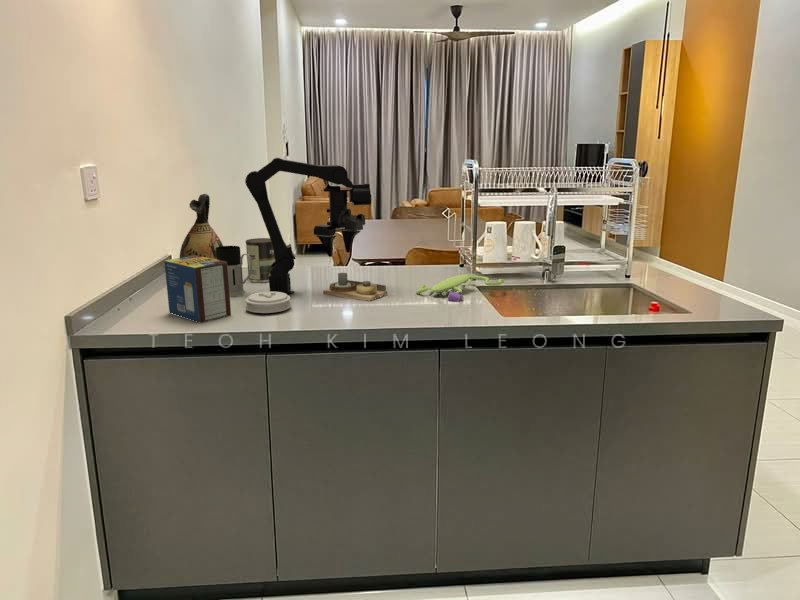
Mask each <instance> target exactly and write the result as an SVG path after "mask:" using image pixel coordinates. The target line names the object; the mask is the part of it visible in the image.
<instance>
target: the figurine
mask: <svg viewBox="0 0 800 600" xmlns="http://www.w3.org/2000/svg"><path fill="white" fill-rule="evenodd" d="M474 280H478V281H480V280H481V281H484V284H485V285H486V286H490V287H491V286H500V285H502V284H503V283H505V280H504V279H503V278H499V279H498V280H497V281H493V282H491V281H490V278H489V277H487V276H481V275H476V274H474V273H470V274H459V275H455V276H451V277H448V278H445V279H443V280H442V281H440V282H438V283H436V284H435V285H433V286H432V287H428V286H426V285H425V284H423V285H421V287H419V288H418V289H416V294H417V295H420V294H421V293H424V292H426V291H428V290H430V292H432V293H435V294H436V295H437V294H439V295H440V294H441V295H442V296H443V297H445V296H447V300H448V301H450V302H458V301H459V302H460V301H462V300H463V299H462V298H463V297H464V294H463V290H462V289H461V288H459V286H461V285H463V284H466V283H467V282H468V281H469V282H468V285H470V284H471V283H472V282H473V281H474ZM448 292H449V293H448Z"/></svg>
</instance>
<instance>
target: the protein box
mask: <svg viewBox="0 0 800 600" xmlns="http://www.w3.org/2000/svg"><path fill="white" fill-rule="evenodd" d="M163 262H164V272H165V281H166V292H167V300H168V301H167V304H168V313H169V312H170V313H173V314H176V315H179V316H182V317H185V318H188V319H191V320H194V321H197V322H202V323H205V322H209V321H213V320H216V319H220V318H225V317H229V316H231V315H232V310H231V297H230V295H229V282H228V269H227V261H222V260H216V259H211V258H206V257H201V256H190V257H184V258H180V257H178V258H171V259H165V260H164V261H163ZM170 313H169V314H170ZM173 314H172V315H173ZM176 315H175V316H176ZM228 315H229V316H228ZM179 316H178V317H179ZM224 316H225V317H224ZM182 317H181V318H182ZM185 318H184V319H185ZM188 319H187V320H188ZM191 320H190V321H191ZM208 320H209V321H208ZM194 321H193V322H194ZM204 321H205V322H204ZM197 322H196V323H197Z"/></svg>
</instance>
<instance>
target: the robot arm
mask: <svg viewBox="0 0 800 600" xmlns="http://www.w3.org/2000/svg"><path fill="white" fill-rule="evenodd" d="M279 172H284V173H288V174H289V173H291V174H295V175H300V176H301V175H302V176H307V177H313V178H314V177H315V178H318V179H321V180H324V181H327V182H329V183H332V184H335V185H330V184H329V183H327V184H326V186H324V187H323V188H322V191H323V192H324V193H326V192H328V198H329V199H328V204H329V206H328V207H329V208H326V213H329V221H327V222H326V224H318V225H315V226H314V227H313V229H312V230H313V235H314V236H315V237H316V238H318V239H319V241H320V242H321V244H322V246H323V248H324V250H325V252H326V254H327V256H328V257H330V258H331V257H333V251H334V250H333V249H334V248H333V247H334V240H335V238H337V235H335V234H336V233H337V232H339V231H341V235H342V239H343V245H344V248H345V251H346V253H351V249H352V246H353V243H354V240H355V237H356V236H357V235H358V234H359V233H361V231H362V230H364V225H366V215H365V214H364V213H358V214H357V215H355V214H352V210H351V208H348V202H349V203H352V206H371V205H372V194H371V187H370V186H371V184H369V183H357V184H355V183H354V184H353V182H352V181H351V180H350V178H349V176H348V175H349V174H348V170H347V169H346V168H345V167H344V166H341V165H339V164H321V165H320V164H312V163H307V162H300V161H295V160H288V159H283V158H281V157H275V158H273V159H272V160H271V161H270V162H269V163H268V164H266V165H264V166H263V167H262V168H260V169H259V170H253V171H251V172H249V173H248V174H247V175H246V176H245V181H244V182H245V185H246V187H247V189H248V191H249V193H250V194H251V196H252V198H253V199H254V201H255V202H256V204H257V207H258V209H259V212H260V214H261V217H262V220H263V222H264V226H265V229H266V231H267V233H268V237H269V238H270V239H271V242H272V244H273V250H274V256H275V262H274V263H273V264H272V265H271V266H270V274H271V275H270V276H269V282H268V283H269V285H268V286H269V292H283V293H286V294H287V295H288V296H289V295H291V294H294V293H295V290H292V289H291V288H292V286H291V276H290V274H291V273H289V272H290V271H292V270H293V268H294V267H295V260H296V254H295V253H294V251H293V249H292V244H291V243H289V244H288V245H287V243H286V242H285V240H284V238H283V235H282V233H281V230H280V227H279V224H278V222H277V221H278V220H277V219H276V216H275V214H274V213H275V212H274V211H273V208H272V205H271V203H270V200H269V195H268V189H267V181H268V180H270V179H271V178H272V177H273V176H275V175H276V174H278V173H279ZM340 185H342V186H344V187H345V188H341V186H340Z"/></svg>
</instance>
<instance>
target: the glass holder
mask: <svg viewBox="0 0 800 600" xmlns="http://www.w3.org/2000/svg"><path fill="white" fill-rule="evenodd" d="M244 256H246V257H247V256H248V257H249V259H250V271H249V274H248V273H247V276H246V277H245V279H243V260H244V259H243V258H244ZM216 260H222V261H227V269H228V282H229V295H230V298H234V297H233V296H235V297H239V296H243V295H245V294H246V291H245V289H244V284H245V283H246V282H247V280H248V278H249V277H250V274H251V271H252V259H251V257H250V255H248V254H247V253H243V254H241V246H240V245H239V246H238V245H223V246H220V247H216Z"/></svg>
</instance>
